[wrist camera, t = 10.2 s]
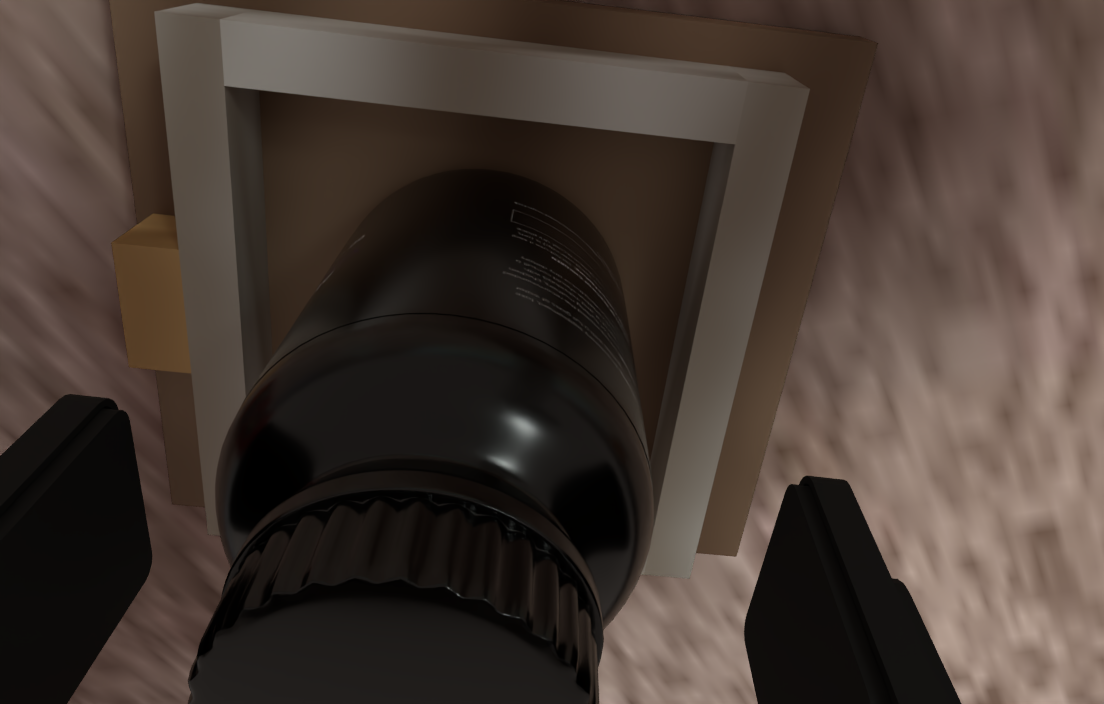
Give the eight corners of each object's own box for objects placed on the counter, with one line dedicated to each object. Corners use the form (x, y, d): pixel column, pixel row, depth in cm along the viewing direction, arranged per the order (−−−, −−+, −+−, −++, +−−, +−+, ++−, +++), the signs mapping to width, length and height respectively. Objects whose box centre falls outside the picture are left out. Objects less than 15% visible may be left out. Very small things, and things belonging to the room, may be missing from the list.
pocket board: (859, 36, 18) (914, 56, 16) (728, 529, 25) (750, 607, 22) (130, -53, 18) (48, -48, 15) (189, 478, 24) (139, 552, 21)
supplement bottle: (300, 196, 19) (-37, 547, 8) (591, 132, 18) (638, 424, 8) (391, 441, 22) (232, 927, 11) (644, 394, 21) (729, 867, 11)
